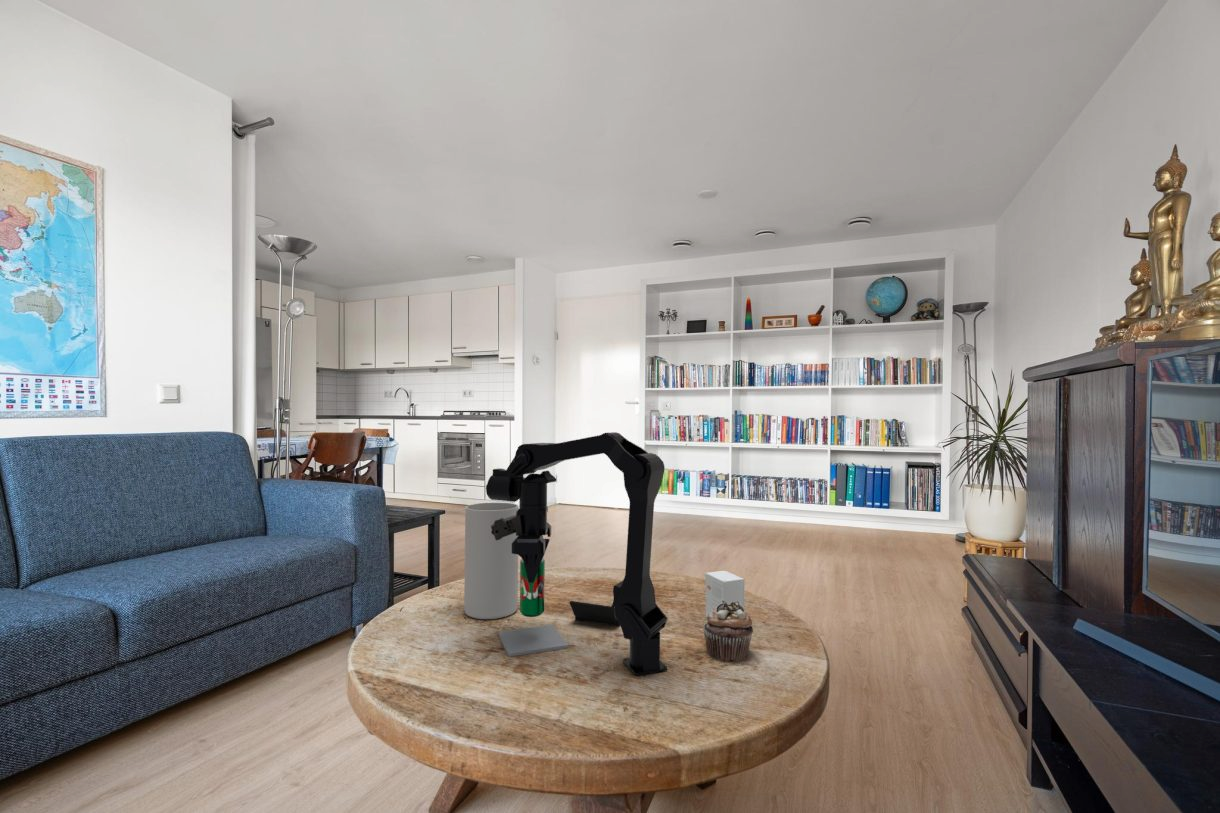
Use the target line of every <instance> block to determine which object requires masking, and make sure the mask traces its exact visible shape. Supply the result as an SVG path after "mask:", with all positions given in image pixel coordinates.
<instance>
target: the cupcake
mask: <svg viewBox="0 0 1220 813" xmlns="http://www.w3.org/2000/svg"><path fill="white" fill-rule="evenodd" d="M706 619H707V620H706V621H707V622H705V623H704V624H703V625H702V630H703V635H704V641H705V646H706V653H707V654H708V655H709V656H710V657H711V658H713V659H715V658H716V660H718V659H720V660H719V661H722V660H726V661H725V662H731V661H730V660H733V661H732V662H735V661H734V660H739V661H741V659H743V660H745V659H746V658H747V657H746V656H748V654H749V651H750V650H749V649H750V645H751V639H752V635H753V632H754V629H753V626H752V625H753V620H752V619H751V617H750V616H749V614H748V613H747V612H746V611H745V612H744V608H743V607H742V605H741V604H740V603H739V601H737V602H732V603H731V604H730V605H728V604H727V603H726V602H725V601H722V603H721V604H720V605H718V606H717V607H716V609H715V610H714V611H713V612H711V613H710V614H708V617H707V618H706ZM745 657H746V658H745ZM744 658H745V659H744Z"/></svg>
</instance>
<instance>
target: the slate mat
mask: <svg viewBox="0 0 1220 813" xmlns="http://www.w3.org/2000/svg"><path fill="white" fill-rule="evenodd" d="M497 635H498V637H499V639H500V641H501V643H502V646H503V648H504V650H505V652H506V654H507V656H508V658H510V657H516V656H517V657H518V656H523V655H530V654H536V653H537V654H538V653H544V652H550V651H551V652H552V651H557V650H565V649H569V644H568V643H567V642H566V641H565V639H564V637H562V635H561V634H560V632H559V631H558V629H556V627H555V626H554V625H553V624H547V625H538V626H531V627H523V628H515V629H507V630H500V631H497Z"/></svg>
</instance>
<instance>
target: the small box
mask: <svg viewBox="0 0 1220 813" xmlns="http://www.w3.org/2000/svg"><path fill="white" fill-rule="evenodd" d="M704 575H705V577H704V578H705V580H704V581H705V618H706V617H708V614H710V613H711V612H713V611H714V610H715V609H716V607H717V606H718V605H720V604H721V603H722V601H725V602H726V603H727V604H728V605H730V604H731V603H732V602H737V601H739V603H740V604H741V605H742V607H743V608H744V612H745V613H746V611H745V609H746V608H745V606H746V605H745V602H746V601H745V579H744V578H742V577H740V576H738V575H735V574H733V573H731V572H730V571H727V570H720V571H719V570H718V571H712V572H711V571H710V572H708V571H707V572H705V574H704Z"/></svg>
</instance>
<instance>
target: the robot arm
mask: <svg viewBox="0 0 1220 813" xmlns="http://www.w3.org/2000/svg"><path fill="white" fill-rule="evenodd" d="M598 455H606V456H607V458H608V459H609V460H610V462H611V463H612V464H613V465H614V467H615V468H616V469H618V470H619V471H620V472H621V473H622V474H623V486H624V490H625V492H626V494H627V497H628V500H629V509H628V510H629V511H628V522H627V523H628V525H627V526H628V527H627V538H626V542H627V543H626V555H625V556H626V557H625V573H624V577H623V580H622V581H620V582H618V583H616V584H615V585H613V588H612V592H613V593H612V595H613V600H612V604H611V605H610V606H611V608H614V607H615V608H614V614H615V618H616V619H617V620H618V621H619V623H620V628H621V631H622V634H623V638H624V639H625V640H629V657H626V658H622V663H624V665H625V666H626V667H627V668H628V669H629V670H630V671H631V672H632V674H634V675H635V676H641V675H647V674H648V675H649V674H652V673H658V672H659V673H660V672H665V671H667V670H668V666H667V665H666V664H665V663H663V662H662V660H661V631H662V630H663V629H665V628H666V624H667V622H668V617H667V615H666V614H665V613H664V612H663V610H661V608H660V607H659V605H658V604H657V603H656V591H655V587H654V584H653V582H652V579H651V576H650V575H651V574H650V573H651V558H652V541H653V527H654V524H653V523H654V513H655V512H654V509H655V508H654V507H655V501H656V499H657V496H658V494H659V491H660V489H661V487H662V482H663V478H664V474H665V469H666V468H665V463H664V461H663V460H662V459H661V457H660V456H658V454H656V453H653V452H648V451H646V450H645V449H644V448H642V447H640V446H639V445H637V444H635V443H633V442H632V441H630V440H628V439H627V438H625V437H624V436H623V435H622V434H621V433H619V432H617V431H616V432H614V431H613V432H604V433H602V434H598V435H594V436H589V437H584V438H579V439H573V440H567V441H562V442H536V443H534V442H533V443H532V442H531V443H522V444H520V445H519V446H517V450H516V451H515V455H514V457H513V459H512V460H511V461H510V463H509V465H508V467H507V468H506V469H505V468H493V469H492V474H491V476H490V477H489V478H488V480H487V483H486V485H485V492H486V496H487V497H488V499H490V500H492V501H502V502H510V503H511V502H512V503H513V502H514V503H515V502H518V505H519V509H518V511H517V512H516V515H514V516H511V517H508V518H505V519H504V518H501V519H499V520H495V521H494V523H493V524H492V525H491V529H492V531H491V533H492V534H493V535H494V537H495V540H500V539H502V537H505V536H508V535H511V534H513V533H515V532H516V536H518V537H517V538H516V539H515V540H514V541H513V543H512V554H518V557H520V558H521V559H523V562H524V566H525V570H526V574H527V579H528V582H529V583H533V582H534V580H535V578H536V575H537V572H538V569H539V567H540V564H541V561H542V559H543V558H544V556H545V553H546V551H547V549H548V545H549V543H550V538H551V536H552V525H551V524H550V523H549V522H548V511H549V506H548V484H549V483H550V484H551V483H555V482H557V477H555V476H553V474H552V473H551V472H550V471H549V470H547V469H548V468H551V467H554V466H556V465H558V464H560V463H561V462H564V461H568V460H574V459H580V458H585V457H590V456H591V457H592V456H598ZM542 470H543V471H542ZM537 471H541V473H536V472H537ZM524 475H527V476H524ZM518 500H519V501H518ZM544 536H547V538H544Z"/></svg>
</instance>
